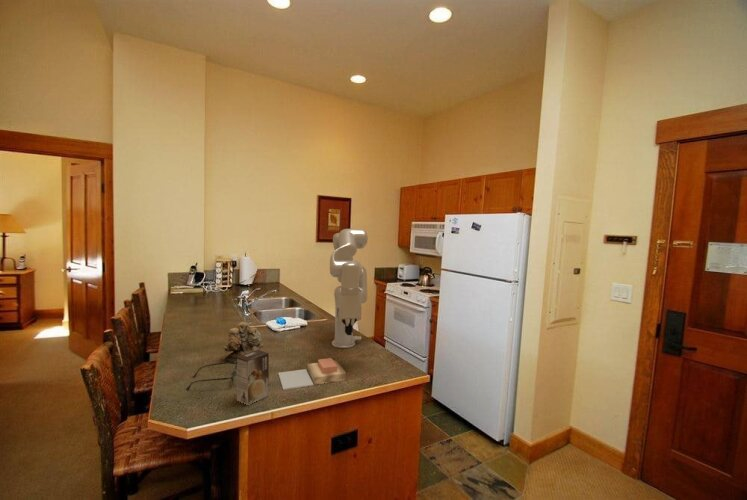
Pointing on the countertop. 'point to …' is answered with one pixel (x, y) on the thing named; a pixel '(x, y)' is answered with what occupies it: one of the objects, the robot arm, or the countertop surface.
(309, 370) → the plate
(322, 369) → the salmon pink rectangular block
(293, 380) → the mat
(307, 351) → the countertop surface
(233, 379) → the sunglasses
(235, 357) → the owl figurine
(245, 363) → the coffee box
